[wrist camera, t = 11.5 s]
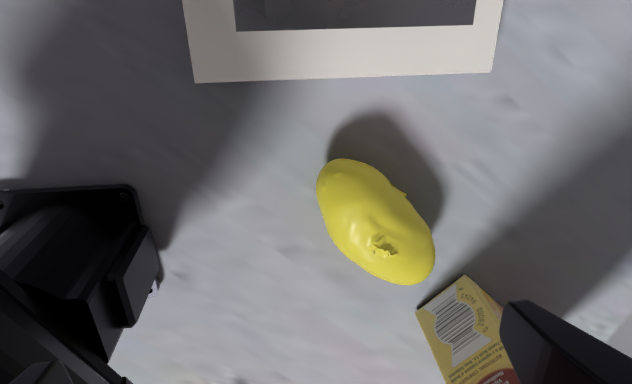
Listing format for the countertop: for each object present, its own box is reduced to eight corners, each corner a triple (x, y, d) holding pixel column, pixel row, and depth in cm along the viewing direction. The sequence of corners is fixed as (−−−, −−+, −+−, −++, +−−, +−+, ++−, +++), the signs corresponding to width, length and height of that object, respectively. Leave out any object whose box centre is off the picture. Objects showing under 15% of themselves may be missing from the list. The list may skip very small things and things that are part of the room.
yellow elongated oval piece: (363, 125, 19) (382, 156, 15) (437, 238, 22) (467, 285, 19) (290, 173, 20) (293, 213, 16) (372, 276, 23) (389, 327, 19)
